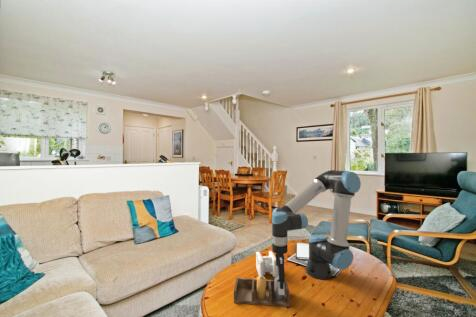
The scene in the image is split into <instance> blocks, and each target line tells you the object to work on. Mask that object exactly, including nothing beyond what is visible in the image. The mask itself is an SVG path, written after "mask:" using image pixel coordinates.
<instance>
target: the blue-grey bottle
mask: <svg viewBox="0 0 476 317" xmlns="http://www.w3.org/2000/svg"><path fill="white" fill-rule="evenodd" d="M274 280H275V281H274V298H275V299H276V300H279V301H281V300H283V299H284V295H279V286H278V282H277V280H279V276H278V277H274Z"/></svg>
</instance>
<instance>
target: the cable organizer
mask: <svg viewBox="0 0 476 317" xmlns="http://www.w3.org/2000/svg"><path fill="white" fill-rule="evenodd" d="M255 261H256V262H255V268H256V271H257V274H258V276H260V275H262V276H264V275H266V273H269V275H272V277H273V278H276V255H275V253H274V252H273V251H272V250H269V251H268V255H264V256H262V254H261V251H255Z"/></svg>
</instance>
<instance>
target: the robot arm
mask: <svg viewBox="0 0 476 317" xmlns="http://www.w3.org/2000/svg"><path fill="white" fill-rule="evenodd" d="M361 185H362V182H361V179H360V177H359V175H358V174H357V173H356V172H354V171H349V170H337V169H336V170H335V169H334V170H333V169H331V170H328V171H324V172H322V173H320V174H319V175H317V176H316V177H315V178H314V179H313V180H312V183H310V184H309V185H308V186H306V187H305V188H304V189H303V190H302V191H300V192H299V193H298V194H297V195H295V196H294V197H293V198H292V199H290V200H289V201H287V203H285V204H284V205H283V206H281V207H275V208H274V209H273V210H272V214H271V215H272V216H271V235H272V236H271V237H270V238H271V239H272V240H271V241H272V246H271V247H272V248H271V249H272V250H271V251H272V252H273V254H275V258H276V277H278V276H279V280H277V282H278V286H279V295H285V290H284V283H285V281H286V277H285V256H284V255H285V254H287V253H288V237H289V236H288V232H289V231H290V232H291V231H296V230H302V229H306V228H307V227H308V224H309V219H308V216H307V215H305V214H304V213H298V212H299V211H300V210H302V209H303V208H304V207H305V206H307V205H308V204H309V203H310V202H311V201H312V200H314V199H315V198H316V197H317V196H318V195H320V194H322V193H325V192H326V191H328V190H331V191H332V195H333V196H334V199H333V208H332V209H333V210H332V219H331V227H330V236H328V235H325V234H311V235H310V236H309V239H308V240H309V241H308V259H307V260H308V261H307V262H306V266H305V272H306V274H307V275H308V276H310V277H312V278H315V279H318V280H328V279H330V278H332V276H333V275H332V274H333V273H332V269H331V266H333V267H334V268H336V269H338V270H340V271H343V270H346V269H348V268H349V267H350V266H351V265H352V263H353V261H354V254H353V252H352V250H350V244H349V242H348V233H349V231H348V230H349V221H350V215H351V214H350V213H351V205H352V199H353V198H354V197H355V193H356V194H357V193H358V192H359V191H360V189H361ZM276 277H275V278H276Z"/></svg>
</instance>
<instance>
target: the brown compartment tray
mask: <svg viewBox="0 0 476 317" xmlns="http://www.w3.org/2000/svg"><path fill="white" fill-rule="evenodd" d="M274 281H275V279H266V298H265V299H259V298H257V278H246V277H245V278H244V277H236V278H235V283H234V289H233V303H235V304H236V303H237V304H247V305H249V304H250V305H261V306H262V305H263V306H275V307H289V308H290V307H291V293H290V289H289V283H288V281H287V280H285V283H284V290H285V295H284V299H283V300H281V301H279V300H276V299H275V298H274Z"/></svg>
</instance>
